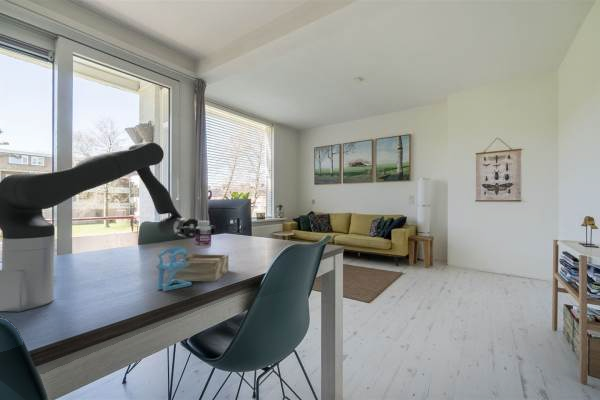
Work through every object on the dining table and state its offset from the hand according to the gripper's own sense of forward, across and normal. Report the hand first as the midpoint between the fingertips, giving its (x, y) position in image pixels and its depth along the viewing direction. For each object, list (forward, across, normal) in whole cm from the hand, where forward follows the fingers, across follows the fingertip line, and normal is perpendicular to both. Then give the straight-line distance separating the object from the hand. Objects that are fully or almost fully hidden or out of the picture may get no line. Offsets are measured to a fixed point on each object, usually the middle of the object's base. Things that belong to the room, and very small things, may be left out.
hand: (206, 231), depth 93 cm
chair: (+4, -13, +16) cm, 21 cm away
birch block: (-2, 0, +16) cm, 16 cm away
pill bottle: (-3, 0, +6) cm, 7 cm away
